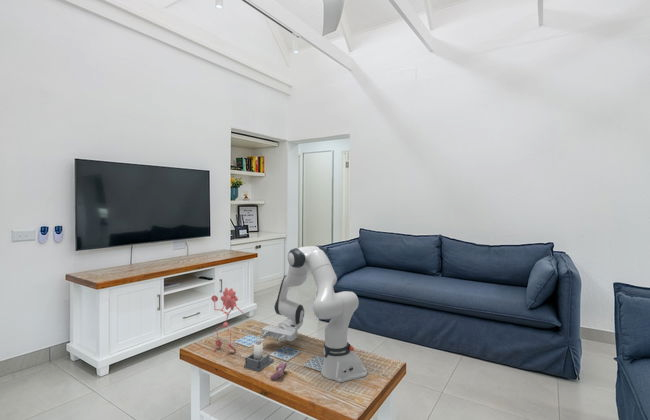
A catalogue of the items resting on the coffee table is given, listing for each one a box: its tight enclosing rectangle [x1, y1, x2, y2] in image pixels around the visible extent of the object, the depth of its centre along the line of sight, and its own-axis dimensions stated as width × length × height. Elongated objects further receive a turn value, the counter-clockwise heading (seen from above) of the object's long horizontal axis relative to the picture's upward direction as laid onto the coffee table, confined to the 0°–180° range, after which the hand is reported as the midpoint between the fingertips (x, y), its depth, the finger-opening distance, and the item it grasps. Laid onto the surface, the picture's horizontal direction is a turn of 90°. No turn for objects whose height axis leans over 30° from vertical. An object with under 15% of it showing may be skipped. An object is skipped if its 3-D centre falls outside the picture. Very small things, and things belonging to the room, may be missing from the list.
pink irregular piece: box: [270, 361, 288, 381], centre depth 155 cm, size 10×5×7 cm, turn 170°
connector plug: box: [253, 338, 264, 361], centre depth 165 cm, size 4×4×12 cm
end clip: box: [243, 352, 275, 373], centre depth 166 cm, size 12×10×5 cm
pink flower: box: [211, 287, 245, 359], centre depth 183 cm, size 15×26×35 cm, turn 59°
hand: (270, 338), depth 175 cm, fingers open, 8 cm apart
